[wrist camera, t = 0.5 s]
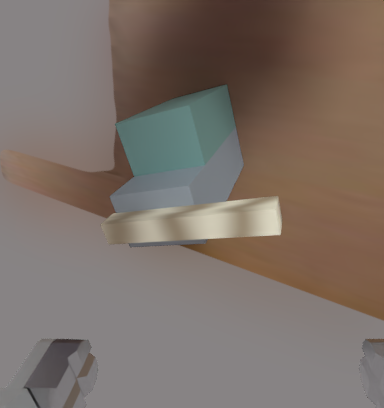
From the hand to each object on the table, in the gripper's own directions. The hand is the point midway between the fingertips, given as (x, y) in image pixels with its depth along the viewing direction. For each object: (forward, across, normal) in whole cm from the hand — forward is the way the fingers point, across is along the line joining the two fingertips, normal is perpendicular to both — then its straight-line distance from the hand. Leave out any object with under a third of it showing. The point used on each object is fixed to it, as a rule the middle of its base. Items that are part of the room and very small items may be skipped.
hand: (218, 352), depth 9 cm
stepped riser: (+47, +4, +3) cm, 48 cm away
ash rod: (+22, +4, +7) cm, 23 cm away
